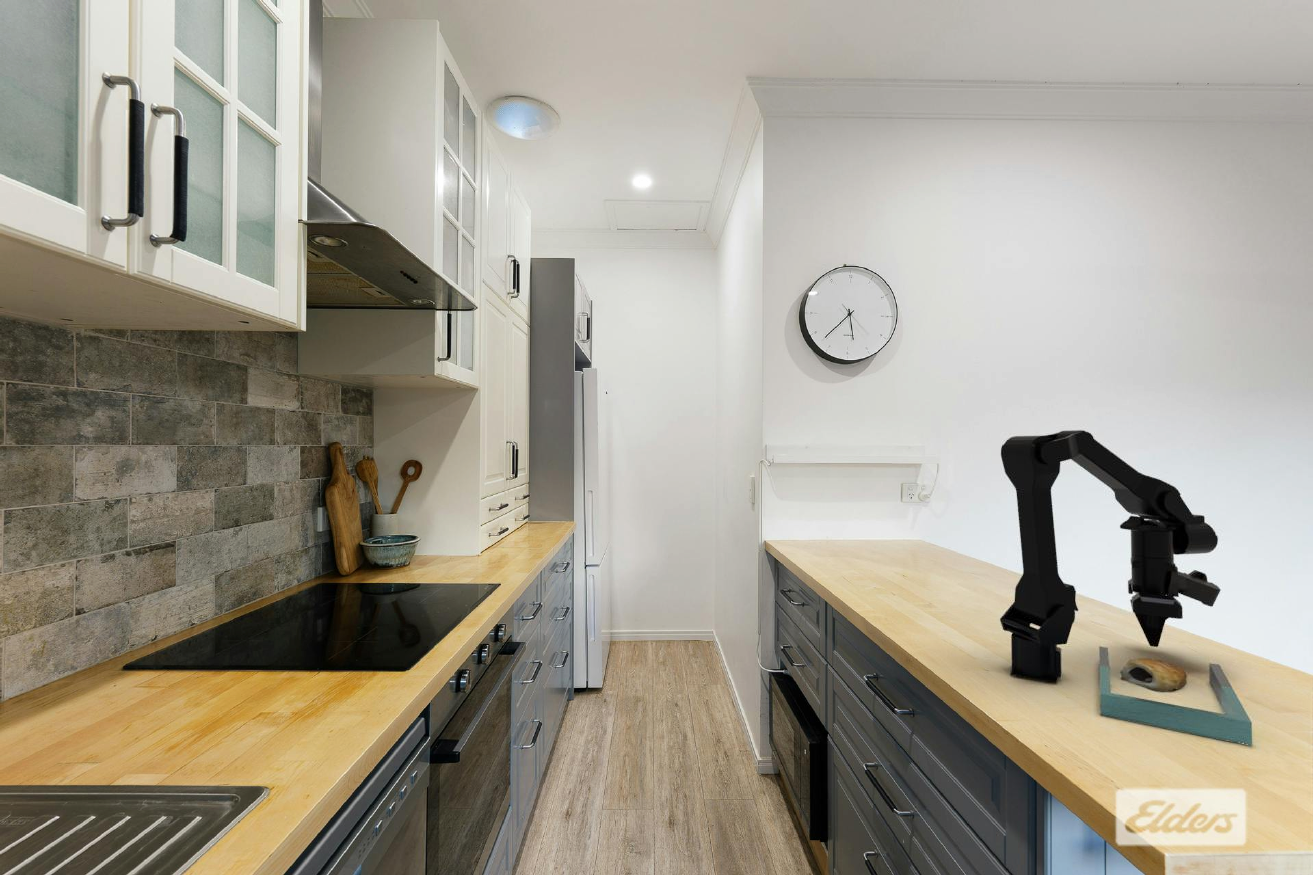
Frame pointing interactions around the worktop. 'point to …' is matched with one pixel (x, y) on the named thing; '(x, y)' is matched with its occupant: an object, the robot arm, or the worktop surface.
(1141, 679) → the pastry
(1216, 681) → the rail pocket
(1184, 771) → the worktop surface
